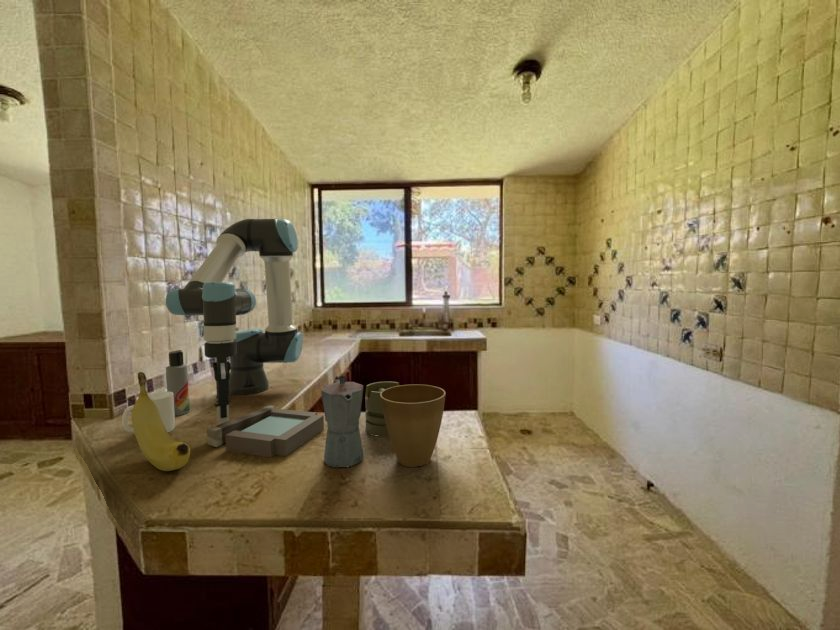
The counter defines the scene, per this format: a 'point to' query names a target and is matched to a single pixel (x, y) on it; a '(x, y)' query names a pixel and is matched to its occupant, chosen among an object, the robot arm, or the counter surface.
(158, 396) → the cup
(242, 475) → the counter surface
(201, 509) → the counter surface
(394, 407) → the plant pot
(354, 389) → the moka pot
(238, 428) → the folding leg
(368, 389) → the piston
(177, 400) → the lotion bottle
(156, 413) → the banana
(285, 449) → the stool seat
